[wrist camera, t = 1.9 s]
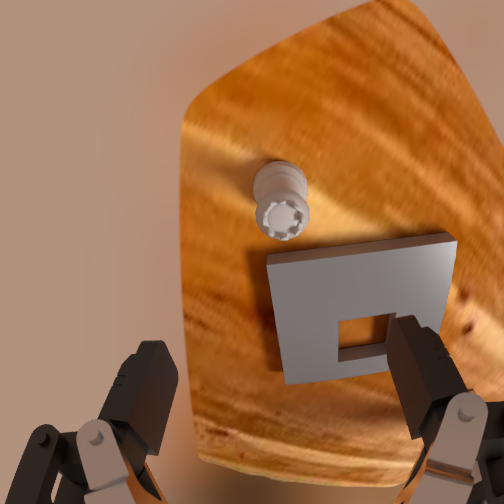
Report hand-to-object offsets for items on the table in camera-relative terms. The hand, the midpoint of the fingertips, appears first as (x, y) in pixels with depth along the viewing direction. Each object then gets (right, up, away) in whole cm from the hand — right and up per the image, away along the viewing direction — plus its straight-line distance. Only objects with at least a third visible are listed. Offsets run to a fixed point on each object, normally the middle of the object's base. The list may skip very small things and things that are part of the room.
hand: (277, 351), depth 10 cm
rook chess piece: (+1, +9, +15) cm, 17 cm away
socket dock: (+11, -3, +20) cm, 22 cm away
